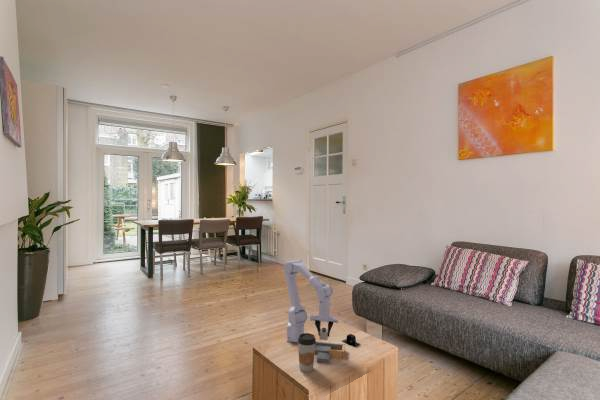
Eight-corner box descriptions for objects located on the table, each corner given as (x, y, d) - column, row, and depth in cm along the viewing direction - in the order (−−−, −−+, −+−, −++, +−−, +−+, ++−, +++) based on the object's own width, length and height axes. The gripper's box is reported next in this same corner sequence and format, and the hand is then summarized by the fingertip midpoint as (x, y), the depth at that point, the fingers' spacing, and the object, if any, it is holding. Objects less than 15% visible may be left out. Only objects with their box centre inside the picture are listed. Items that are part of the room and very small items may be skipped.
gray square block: (316, 362, 153) (316, 358, 153) (318, 356, 159) (318, 352, 159) (329, 363, 152) (329, 359, 152) (330, 357, 158) (330, 353, 158)
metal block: (319, 339, 161) (319, 329, 161) (320, 336, 165) (320, 326, 165) (327, 340, 160) (327, 330, 160) (328, 336, 164) (328, 327, 164)
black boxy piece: (338, 341, 177) (338, 333, 177) (346, 338, 182) (346, 330, 182) (356, 349, 168) (356, 341, 168) (364, 345, 172) (364, 337, 172)
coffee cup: (299, 374, 142) (299, 341, 142) (295, 364, 150) (296, 333, 150) (317, 372, 143) (317, 339, 143) (312, 363, 152) (313, 332, 152)
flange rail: (310, 354, 160) (311, 348, 160) (313, 347, 168) (313, 341, 168) (343, 358, 157) (343, 351, 157) (344, 350, 165) (344, 344, 165)
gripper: (309, 310, 161) (308, 337, 161) (338, 313, 158) (337, 340, 158) (311, 306, 168) (311, 331, 168) (338, 308, 165) (338, 334, 165)
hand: (324, 335), depth 163 cm, fingers closed on metal block, 4 cm apart
